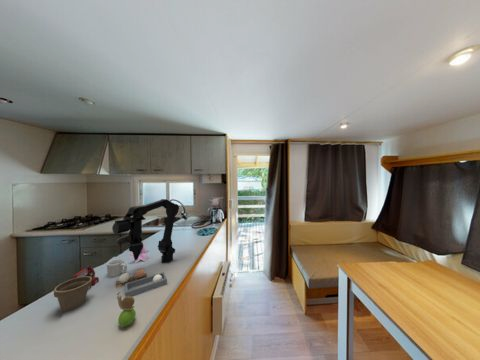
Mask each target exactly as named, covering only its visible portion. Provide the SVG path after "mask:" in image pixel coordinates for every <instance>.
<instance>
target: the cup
mask: <svg viewBox="0 0 480 360" xmlns="http://www.w3.org/2000/svg"><path fill="white" fill-rule="evenodd" d="M127 269H128V265H127V264H126V263H125V259H124V258H115V259H112V260H109V261H108V262H107V263H106V272H107V277H108V278H116V277H118V276H119V275H120V276H121V275H122V274H123V273H126V272H127Z"/></svg>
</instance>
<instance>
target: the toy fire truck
mask: <svg viewBox="0 0 480 360" xmlns="http://www.w3.org/2000/svg"><path fill="white" fill-rule="evenodd" d="M83 276H89V277H91V278H92V284H91V285H90V287H89V288H88V291H89V290H90V289H91V288H92V286H93V287H94V286H95V285H96V284H98V282H100V281H99V277H98V276H96V271H95V269H94V268H93V267H92V266H91V265H87V266H86V267H85V268H83V269H81V270H80V271H79V272H77V273H76V274H74V275H73V277H72V279H74V278H78V277H83Z"/></svg>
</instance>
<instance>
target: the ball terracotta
mask: <svg viewBox="0 0 480 360" xmlns="http://www.w3.org/2000/svg"><path fill="white" fill-rule="evenodd" d="M144 273H146V272H145V270H144V269H143V268H139V269H137V270H136V271H135V273H134V276H135V277H136V278H141V277H143V276H144Z"/></svg>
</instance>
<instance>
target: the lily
mask: <svg viewBox="0 0 480 360" xmlns="http://www.w3.org/2000/svg"><path fill="white" fill-rule="evenodd" d="M150 252H151V251H150V250H147V245H146V243H143V249H142V250H141V253H140V255H139V257H138V259H137V260H135V259H134V255H133V252H131V253H130V254H129V255H127V257H128V258H132V259H134V264H137V263H138V262H139V261H141V260H142V261H143V262H147V261H148V258H147V255H148V254H149V253H150Z"/></svg>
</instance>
